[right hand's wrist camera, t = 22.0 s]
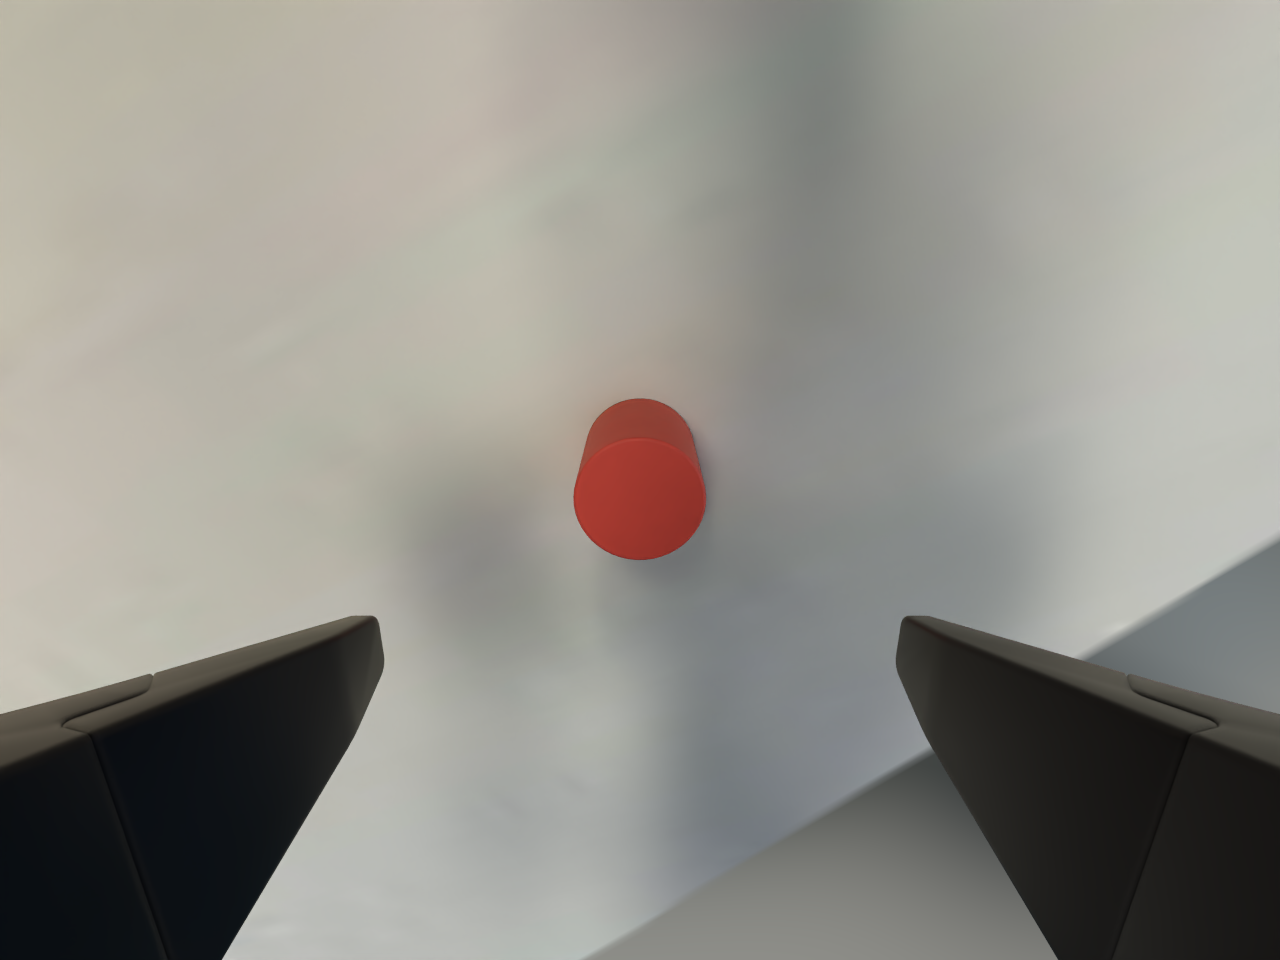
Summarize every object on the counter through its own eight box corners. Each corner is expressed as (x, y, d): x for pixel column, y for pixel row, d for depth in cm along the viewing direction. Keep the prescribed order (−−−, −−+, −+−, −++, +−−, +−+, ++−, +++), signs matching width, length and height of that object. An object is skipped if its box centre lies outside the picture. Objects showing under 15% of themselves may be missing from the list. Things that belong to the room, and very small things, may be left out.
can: (715, 435, 21) (732, 483, 17) (655, 519, 22) (658, 583, 18) (623, 376, 21) (619, 411, 17) (565, 466, 22) (548, 519, 18)
